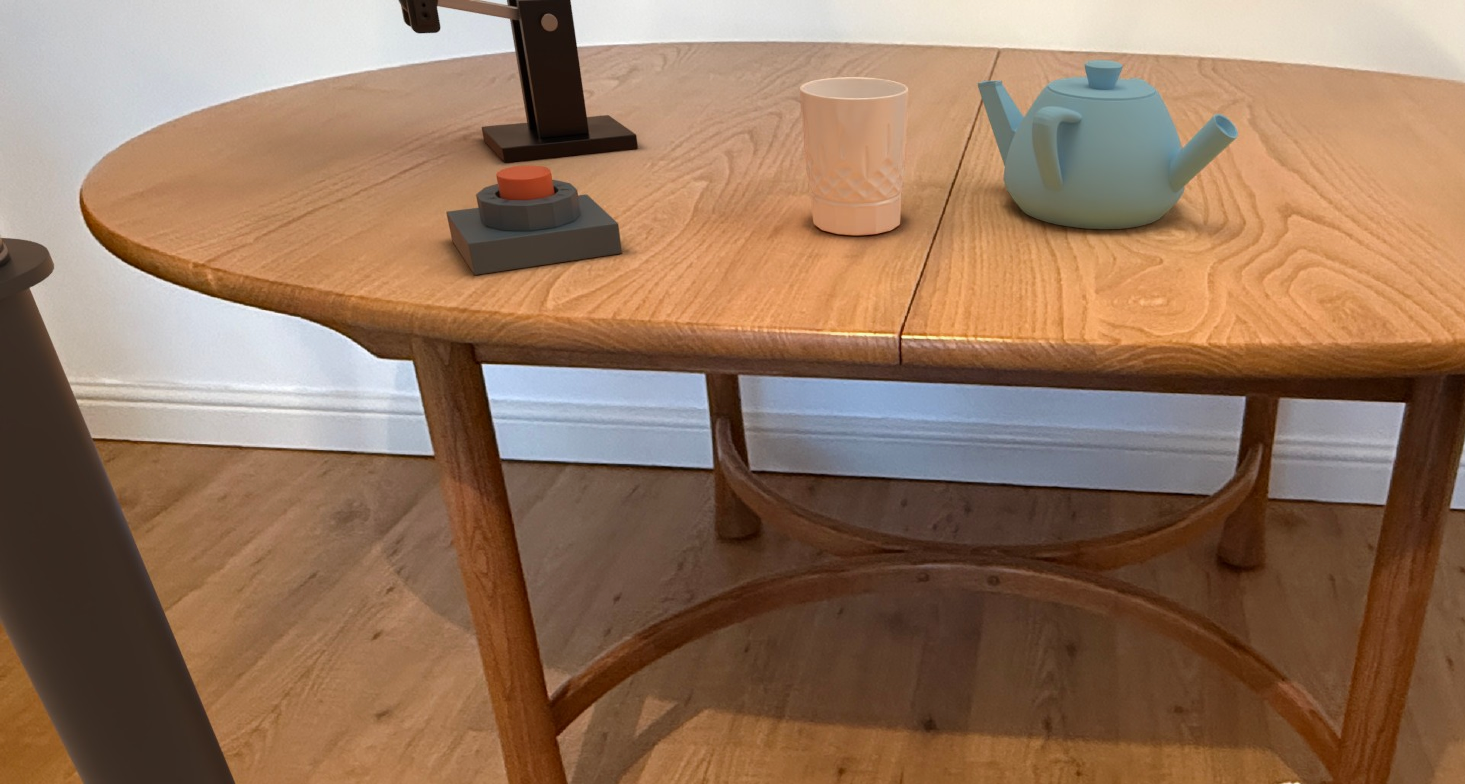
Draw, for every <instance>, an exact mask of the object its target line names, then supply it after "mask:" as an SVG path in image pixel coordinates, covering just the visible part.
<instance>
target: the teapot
mask: <svg viewBox="0 0 1465 784" xmlns="http://www.w3.org/2000/svg"><path fill="white" fill-rule="evenodd" d="M1123 67H1124V65H1123V64H1122V63H1120V62H1118V61H1115V60H1109V59H1094V60H1089V61H1086V62H1084V71H1085V75H1086V76H1072V77H1071V76H1070V77H1063V78H1058V79H1055V80H1052V81H1050V82H1049V83H1047V84H1046V85H1045V87H1044V88H1043V89H1042V90H1041V91H1040V92H1039V94H1038V95H1037V97H1036V98H1035V99H1034V101H1033V103H1032V104H1031V106H1030V107H1029V108H1028V110H1027V112H1026V113H1025V114H1024V115H1023V113H1022V112H1021V111H1020V109H1019V107H1018V106H1017V104H1016V103H1015V101H1014V100H1013V98H1012V97H1011V95H1010V94H1009V92H1008V90H1007V89H1006V87H1005V86H1004V84H1003V80H982V81H980V82H978V83H977V89H978V92H979V95H980V97H981V100H982V103H983V106H984V109H985V112H986V114H987V118H988V121H989V124H990V127H991V131H992V133H993V136H994V140H995V142H996V145H997V148H998V151H999V154H1000V157H1001V160H1002V163H1003V166H1004V168H1003V183H1004V187H1005V189H1006V191H1007V193H1008V194H1009V195H1010V197H1011V198H1012V200H1013V201H1014V203H1015V204H1016V206H1018V207H1019V209H1020V210H1021V211H1022V212H1023V213H1024V214H1026V215H1027V216H1030V217H1031V218H1034V219H1036V220H1039V221H1042V222H1045V223H1049V224H1054V225H1058V226H1063V227H1069V228H1078V229H1088V230H1118V229H1119V230H1121V229H1131V228H1138V227H1142V226H1146V225H1150V224H1152V223H1155V222H1157V221H1159V220H1160V219H1162V217H1164V216H1165V214H1168V212H1169V211H1170V210H1171V209H1172V208H1173V207H1174V206H1175V205H1176V204H1177V203H1178V202H1179V200H1180V199H1181V198H1182V196H1183V194H1184V192H1185V188H1186V187H1185V186H1186V185H1187V184H1188V183H1190V182H1191V181H1192V180H1193V179H1194V178H1195V177H1196V176H1197V175H1199V173H1201V171H1203V170H1204V169H1205V168H1206V167H1207V166H1208V165H1209V164H1210V163H1211V162H1213V160H1215V158H1217V157H1218V156H1219V155H1220V154H1221V153H1222V152H1223V151H1224V150H1225V149H1226V148H1227V147H1228V146H1229V145H1231V144H1232V143H1233V142H1234V141H1235V140H1236V139H1237V138H1238V137H1239V131H1238V128H1237V127H1236V125H1235V124H1234V122H1233V121H1231V119H1230V118H1228V117H1227V116H1226V115H1224V114H1221V113H1215V114H1214V115H1213V116H1212V117H1211V118H1210V119H1209V120H1208V121H1207V122H1206V123H1204V125H1203V126H1202V127H1201V128H1200V129H1199V131H1197V133H1196V134H1195V135H1193V137H1192V138H1191V139H1190V140H1189V141H1188V142H1187V143H1186V144H1185V145H1184V146H1183V147H1182V142H1181V138H1180V135H1179V132H1178V130H1177V127H1176V125H1175V122H1174V120H1173V118H1172V116H1171V114H1170V111H1169V109H1168V107H1167V105H1166V103H1165V101H1164V100H1163V98H1162V96H1161V93H1160V92H1159V91H1158V90H1157V88H1155V86H1153V85H1151V84H1149V82H1147V81H1146V80H1144V79H1141V78H1137V77H1131V78H1120V75H1121V73H1122V71H1123Z"/></svg>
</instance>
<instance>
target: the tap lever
mask: <svg viewBox="0 0 1465 784" xmlns="http://www.w3.org/2000/svg"><path fill="white" fill-rule="evenodd" d="M397 1H398V3H399V5H400V7H401V6H402V7H403V8H404V9H405V10H406V11H407V12H408V9H407V3H406V0H397ZM436 4H437V7H439V8H446V9H450V10H457V11H462V12H467V13H474V14H481V15H486V16H490V17H498V18H503V19H506V20H507V19H508V20H510V19H513V20H518V21H519V15H518V9H517V7H514V6H509V5H508V4H503V3H497V2H492V1H487V0H436Z"/></svg>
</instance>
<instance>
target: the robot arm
mask: <svg viewBox="0 0 1465 784" xmlns="http://www.w3.org/2000/svg"><path fill="white" fill-rule="evenodd" d="M406 3H407V9H408V12H407V11H406V10H405V9H404V8H403V7H402V6H401V5H400V9H401V13H402V19H403V22H404V24H406V25H407V26H408V27H410V28H411V30H412V31H413V32H414V33H416V34H437V33H439V32H440V31H441V28H442V27H441V22H440V17H439V16H440V15H439V10H438V6H437V4H436V0H406ZM1 238H2V237H1V236H0V267H1V266H3V265H4V264H6V263H7V262H8V261H9V259H10V254H9V252H8V249H7V247H6V245H5V244H4V243H3V242H2V240H1Z"/></svg>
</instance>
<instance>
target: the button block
mask: <svg viewBox="0 0 1465 784" xmlns="http://www.w3.org/2000/svg"><path fill="white" fill-rule="evenodd" d="M552 180H553V187H554V193H555V195H552V196H549V197H545V198H541V199H533V200H506V199H502V198H500V193H499V187H498V183H495V184H492V185H488V186H485V187H483V188H482V189H481V190H479V191H478V192H477V193H476V194H475V198H476V203H477V207H472V208H466V209H456V210H448V211H446V218H447V222H448V227H449V230H450V231H449V233H450V237H451V242H452V243H453V244H454V246H455V248H456V249H457V251H458V252H459V254H460V255H461V257H462V258H463V260H464V262H465V263H466V264H467V266H468V267H469V269H470V270H471V272H472V273H473V275H474V276H478V275H484V274H491V273H500V272H506V271H513V270H519V269H524V268H532V267H539V266H545V265H553V264H559V263H560V264H561V263H566V262H573V261H579V260H587V259H594V258H599V257H606V256H614V255H621V254H623V249H622V242H621V233H620V226H619V222H618V221H616V219H614V218H613V217H612V216H611V215H610V214H609V213H608V212H607V211H606V210H604V208H602V207H601V206H600V205H599V204H598V203H597V202H596V201H595V200H594V199H592V197H591V196H589V194H586V193H585V194H579V193H578V188H576V187H575V186H574V184H572V183H570V182H568V181H567V182H566V181H562V180H557V179H552Z"/></svg>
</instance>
